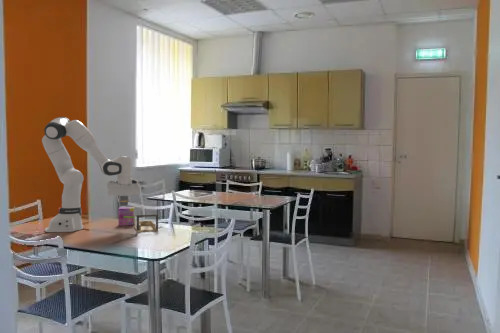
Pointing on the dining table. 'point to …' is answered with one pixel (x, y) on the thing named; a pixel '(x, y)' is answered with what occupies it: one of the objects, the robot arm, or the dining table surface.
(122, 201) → the gray domed cylinder
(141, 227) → the wooden tray with handle
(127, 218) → the box
